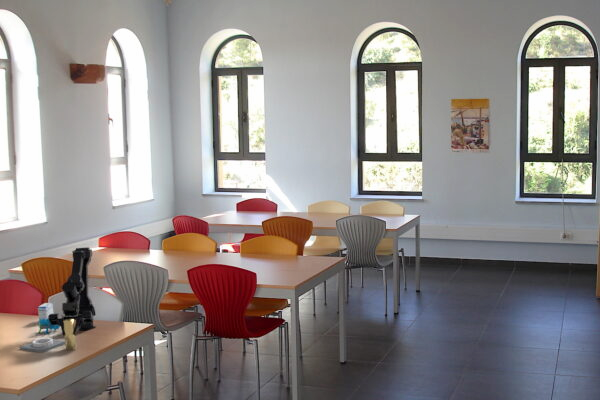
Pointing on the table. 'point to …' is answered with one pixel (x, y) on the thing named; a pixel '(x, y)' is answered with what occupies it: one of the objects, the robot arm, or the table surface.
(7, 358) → the table surface
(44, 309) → the medicine box
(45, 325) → the gear
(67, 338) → the brass shaft
